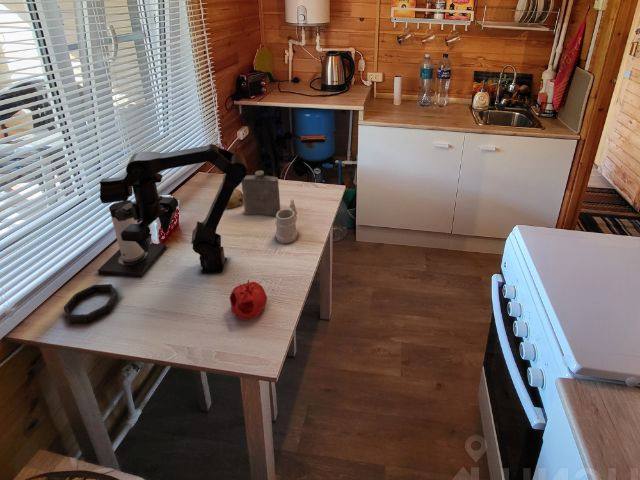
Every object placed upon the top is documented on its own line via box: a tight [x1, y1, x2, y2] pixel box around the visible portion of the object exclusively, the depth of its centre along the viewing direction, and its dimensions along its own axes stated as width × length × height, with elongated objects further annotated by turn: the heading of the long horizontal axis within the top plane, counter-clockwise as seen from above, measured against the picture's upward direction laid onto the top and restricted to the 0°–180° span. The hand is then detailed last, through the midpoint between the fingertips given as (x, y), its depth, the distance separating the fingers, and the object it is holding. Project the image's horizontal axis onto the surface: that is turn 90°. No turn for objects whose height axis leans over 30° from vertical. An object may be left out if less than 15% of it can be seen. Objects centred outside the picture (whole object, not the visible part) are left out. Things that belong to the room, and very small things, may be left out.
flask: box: [241, 170, 281, 217], centre depth 147 cm, size 4×14×18 cm, turn 86°
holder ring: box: [63, 283, 120, 325], centre depth 106 cm, size 12×12×2 cm
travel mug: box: [108, 199, 144, 262], centre depth 120 cm, size 6×7×20 cm
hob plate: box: [97, 242, 167, 278], centre depth 124 cm, size 14×14×2 cm
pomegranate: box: [229, 279, 268, 320], centre depth 104 cm, size 10×10×9 cm
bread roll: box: [225, 187, 244, 210], centre depth 156 cm, size 10×10×8 cm
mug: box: [274, 199, 299, 244], centre depth 136 cm, size 8×12×12 cm, turn 165°
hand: (156, 241), depth 113 cm, fingers open, 9 cm apart
